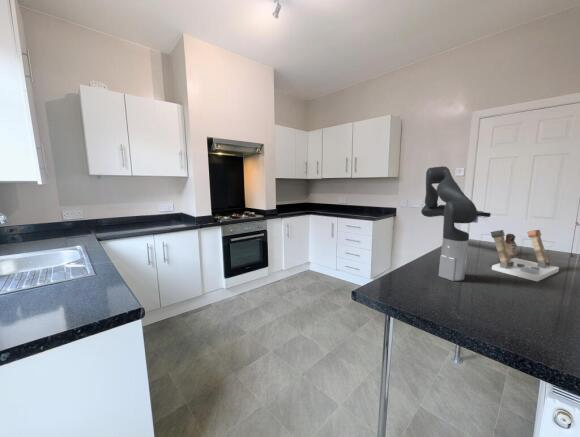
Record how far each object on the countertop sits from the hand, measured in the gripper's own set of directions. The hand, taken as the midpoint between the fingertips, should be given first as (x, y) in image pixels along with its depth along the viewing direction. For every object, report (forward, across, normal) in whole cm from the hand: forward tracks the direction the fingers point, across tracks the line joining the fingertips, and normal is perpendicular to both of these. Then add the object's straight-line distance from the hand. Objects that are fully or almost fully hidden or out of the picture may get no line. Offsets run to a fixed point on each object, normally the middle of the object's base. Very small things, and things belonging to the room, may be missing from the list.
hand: (489, 215), depth 132 cm
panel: (+19, -8, +24) cm, 32 cm away
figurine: (+4, +18, +24) cm, 30 cm away
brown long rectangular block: (+24, 0, +21) cm, 31 cm away
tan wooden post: (+15, -16, +21) cm, 30 cm away
